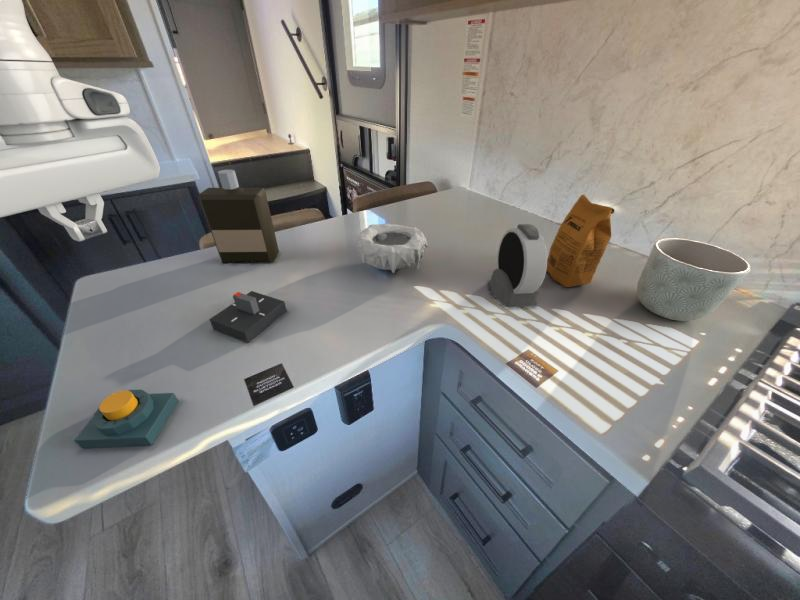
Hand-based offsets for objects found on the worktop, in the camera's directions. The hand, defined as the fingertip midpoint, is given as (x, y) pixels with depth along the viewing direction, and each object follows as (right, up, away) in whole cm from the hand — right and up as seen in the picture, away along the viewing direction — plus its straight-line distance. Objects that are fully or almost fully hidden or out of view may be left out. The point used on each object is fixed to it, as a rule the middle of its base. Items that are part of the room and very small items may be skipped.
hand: (90, 236), depth 38 cm
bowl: (+34, +3, +57) cm, 66 cm away
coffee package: (+84, -1, +53) cm, 99 cm away
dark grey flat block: (+3, -12, +34) cm, 36 cm away
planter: (+103, -10, +41) cm, 111 cm away
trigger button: (-6, -24, +11) cm, 27 cm away
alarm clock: (+66, -6, +46) cm, 81 cm away
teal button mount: (-6, -27, +13) cm, 31 cm away
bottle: (-8, +5, +58) cm, 59 cm away
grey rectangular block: (+3, -10, +32) cm, 34 cm away
